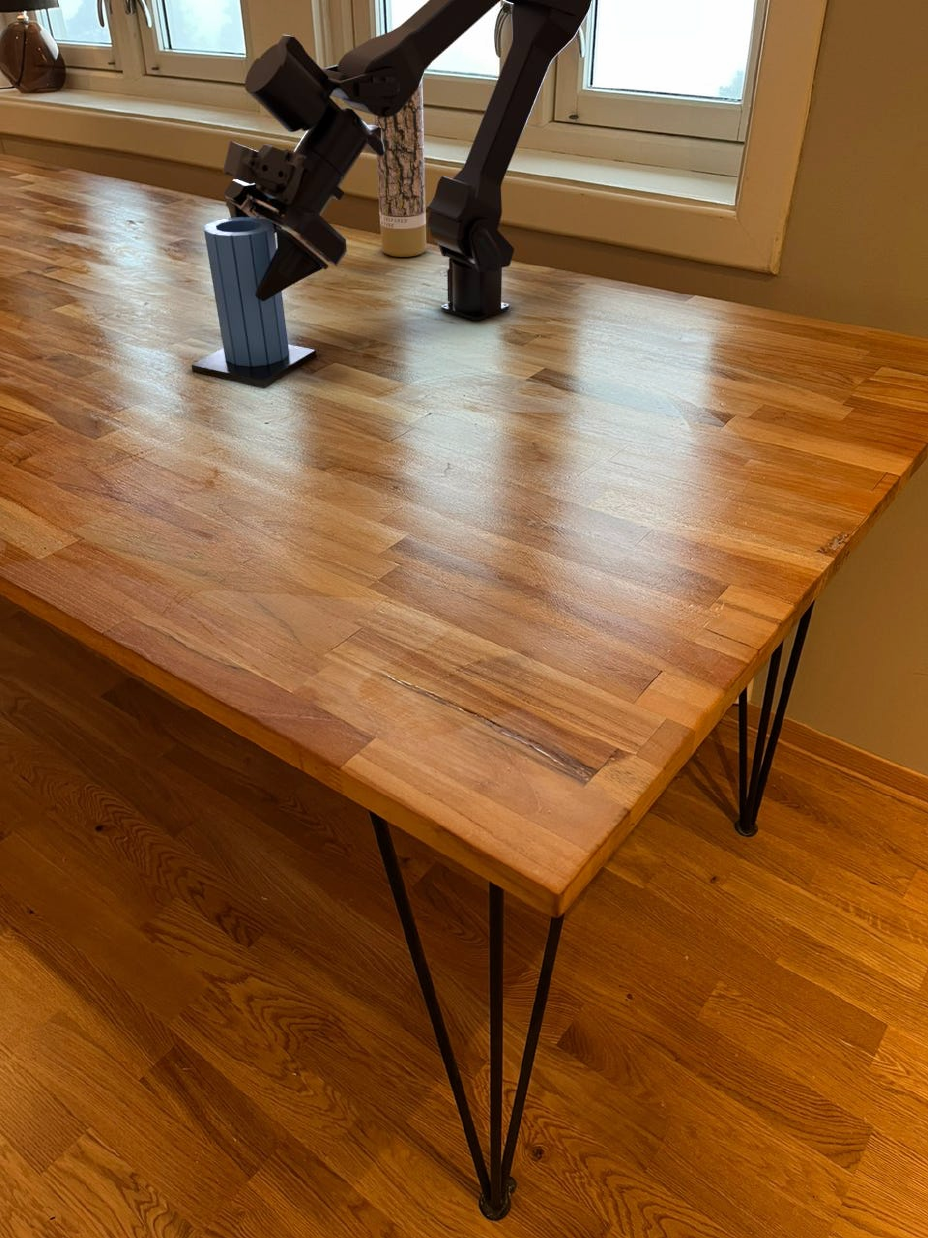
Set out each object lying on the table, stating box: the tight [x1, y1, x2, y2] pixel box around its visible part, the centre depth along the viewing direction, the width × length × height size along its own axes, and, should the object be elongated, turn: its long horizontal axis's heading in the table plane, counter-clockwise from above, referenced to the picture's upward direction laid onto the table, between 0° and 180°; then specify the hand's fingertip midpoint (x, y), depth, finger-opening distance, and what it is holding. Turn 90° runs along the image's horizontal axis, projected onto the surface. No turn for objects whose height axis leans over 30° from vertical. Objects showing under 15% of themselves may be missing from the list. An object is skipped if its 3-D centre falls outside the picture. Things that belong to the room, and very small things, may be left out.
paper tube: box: [373, 79, 427, 258], centre depth 133 cm, size 7×7×25 cm
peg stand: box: [190, 343, 317, 389], centre depth 105 cm, size 10×10×5 cm
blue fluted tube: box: [203, 217, 289, 367], centre depth 102 cm, size 7×7×14 cm
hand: (240, 287), depth 101 cm, fingers open, 9 cm apart
